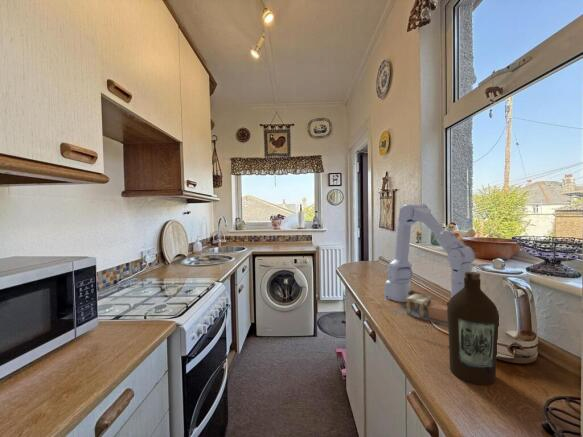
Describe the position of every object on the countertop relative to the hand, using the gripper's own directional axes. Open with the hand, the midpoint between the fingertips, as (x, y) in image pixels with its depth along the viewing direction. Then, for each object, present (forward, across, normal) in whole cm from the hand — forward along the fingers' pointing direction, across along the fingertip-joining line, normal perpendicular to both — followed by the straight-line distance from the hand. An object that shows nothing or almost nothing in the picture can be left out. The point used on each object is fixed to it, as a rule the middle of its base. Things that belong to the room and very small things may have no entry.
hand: (460, 321), depth 95 cm
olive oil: (+2, -29, -10) cm, 31 cm away
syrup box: (+2, +29, +32) cm, 44 cm away
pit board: (+2, 0, +12) cm, 12 cm away
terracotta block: (+1, 0, +4) cm, 4 cm away
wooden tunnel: (+1, 0, +14) cm, 14 cm away
